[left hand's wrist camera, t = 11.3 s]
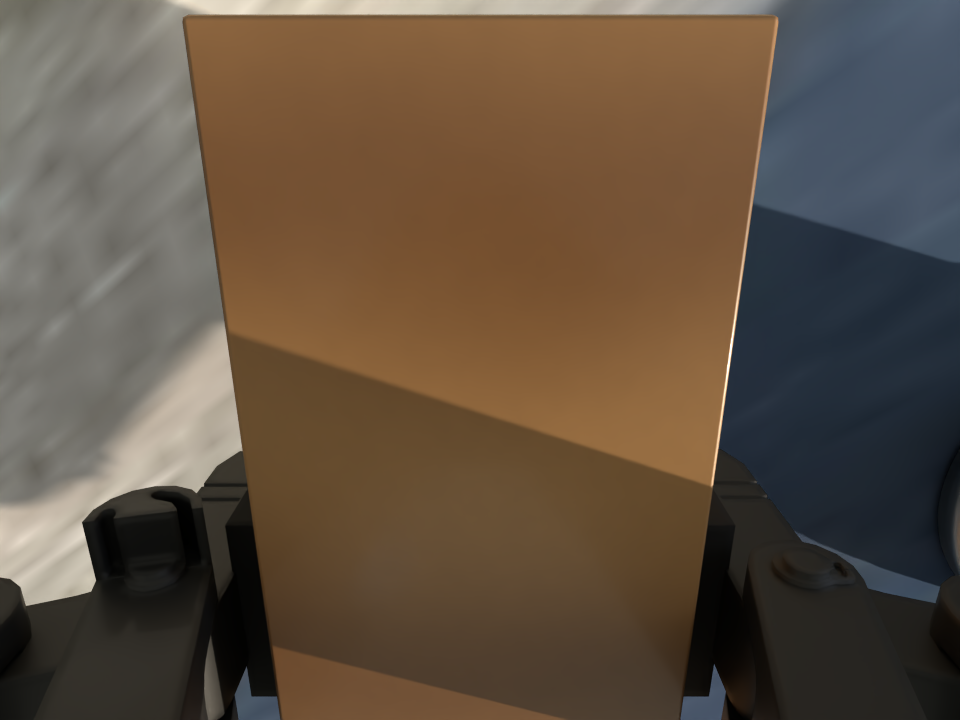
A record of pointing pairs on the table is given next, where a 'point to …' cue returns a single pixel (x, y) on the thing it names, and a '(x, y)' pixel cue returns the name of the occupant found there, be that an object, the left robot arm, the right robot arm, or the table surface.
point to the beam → (480, 344)
